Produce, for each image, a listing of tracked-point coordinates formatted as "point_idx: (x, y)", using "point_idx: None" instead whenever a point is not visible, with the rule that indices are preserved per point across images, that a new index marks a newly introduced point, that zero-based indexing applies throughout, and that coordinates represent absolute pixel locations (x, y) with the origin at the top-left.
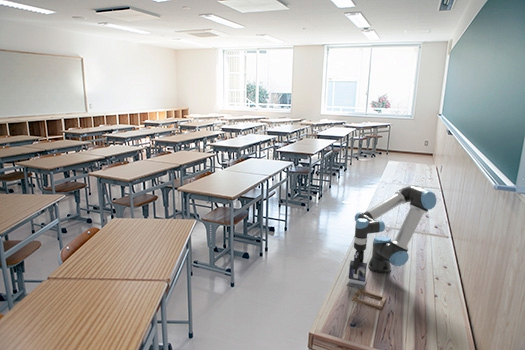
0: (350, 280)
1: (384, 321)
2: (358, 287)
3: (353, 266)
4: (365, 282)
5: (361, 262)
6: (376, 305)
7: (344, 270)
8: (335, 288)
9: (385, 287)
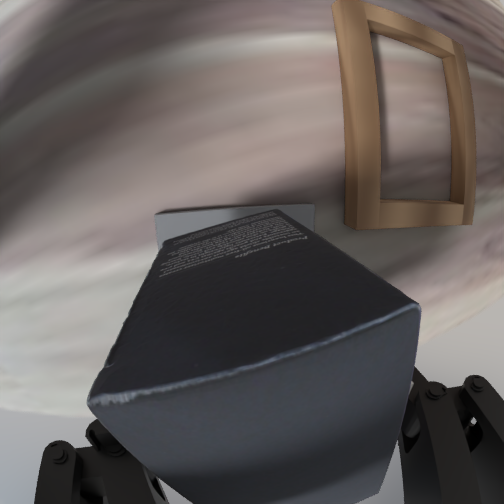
0: None
1: (486, 46)
2: None
3: (476, 440)
4: (174, 220)
5: (192, 488)
6: (462, 68)
7: None
8: None
9: (136, 43)
